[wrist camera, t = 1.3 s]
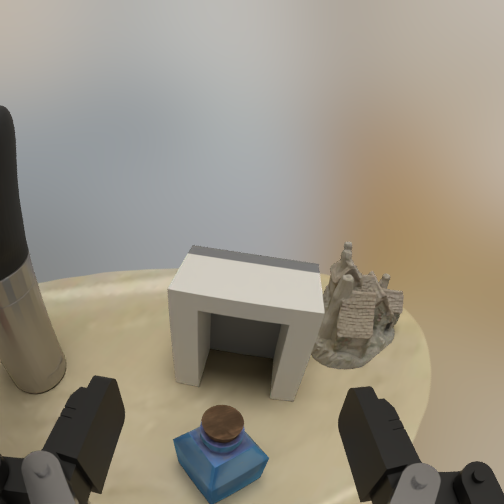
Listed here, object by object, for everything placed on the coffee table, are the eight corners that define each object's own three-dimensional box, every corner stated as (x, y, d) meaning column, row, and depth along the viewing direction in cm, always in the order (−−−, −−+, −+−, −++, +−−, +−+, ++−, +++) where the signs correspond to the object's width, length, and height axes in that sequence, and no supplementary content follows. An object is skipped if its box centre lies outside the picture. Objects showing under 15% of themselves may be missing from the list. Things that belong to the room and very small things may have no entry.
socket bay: (176, 381, 36) (167, 288, 29) (192, 335, 44) (192, 245, 37) (293, 401, 36) (324, 313, 28) (294, 351, 43) (318, 264, 36)
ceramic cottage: (299, 361, 42) (334, 272, 35) (310, 298, 56) (334, 223, 49) (396, 383, 40) (447, 304, 33) (387, 318, 54) (419, 249, 47)
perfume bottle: (211, 505, 23) (210, 471, 17) (178, 461, 27) (166, 408, 21) (260, 477, 26) (281, 430, 20) (226, 438, 30) (232, 378, 24)
